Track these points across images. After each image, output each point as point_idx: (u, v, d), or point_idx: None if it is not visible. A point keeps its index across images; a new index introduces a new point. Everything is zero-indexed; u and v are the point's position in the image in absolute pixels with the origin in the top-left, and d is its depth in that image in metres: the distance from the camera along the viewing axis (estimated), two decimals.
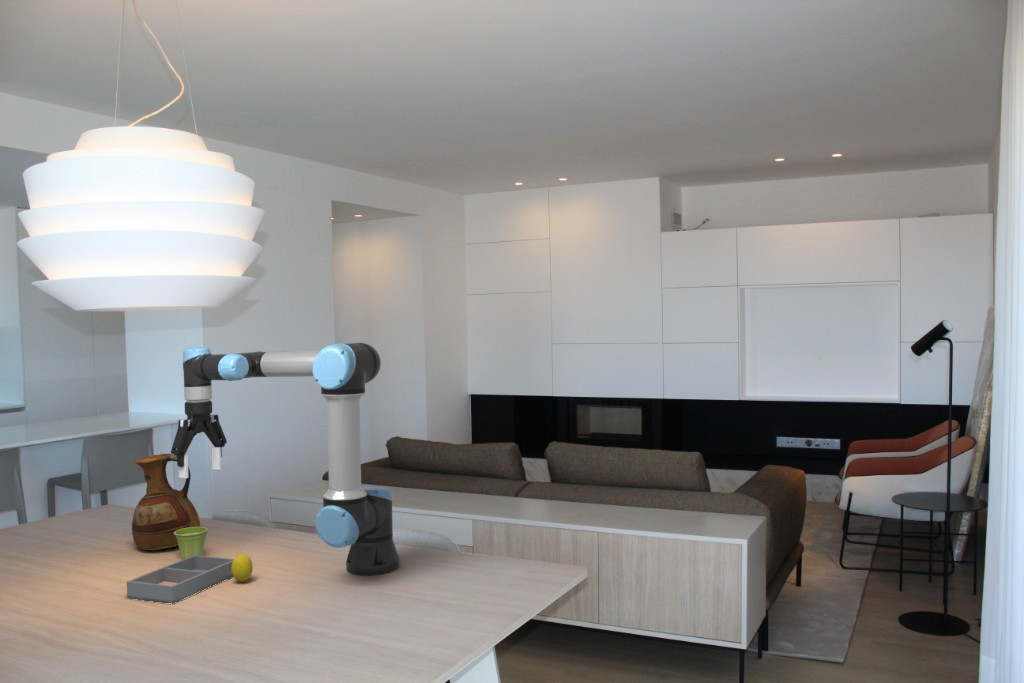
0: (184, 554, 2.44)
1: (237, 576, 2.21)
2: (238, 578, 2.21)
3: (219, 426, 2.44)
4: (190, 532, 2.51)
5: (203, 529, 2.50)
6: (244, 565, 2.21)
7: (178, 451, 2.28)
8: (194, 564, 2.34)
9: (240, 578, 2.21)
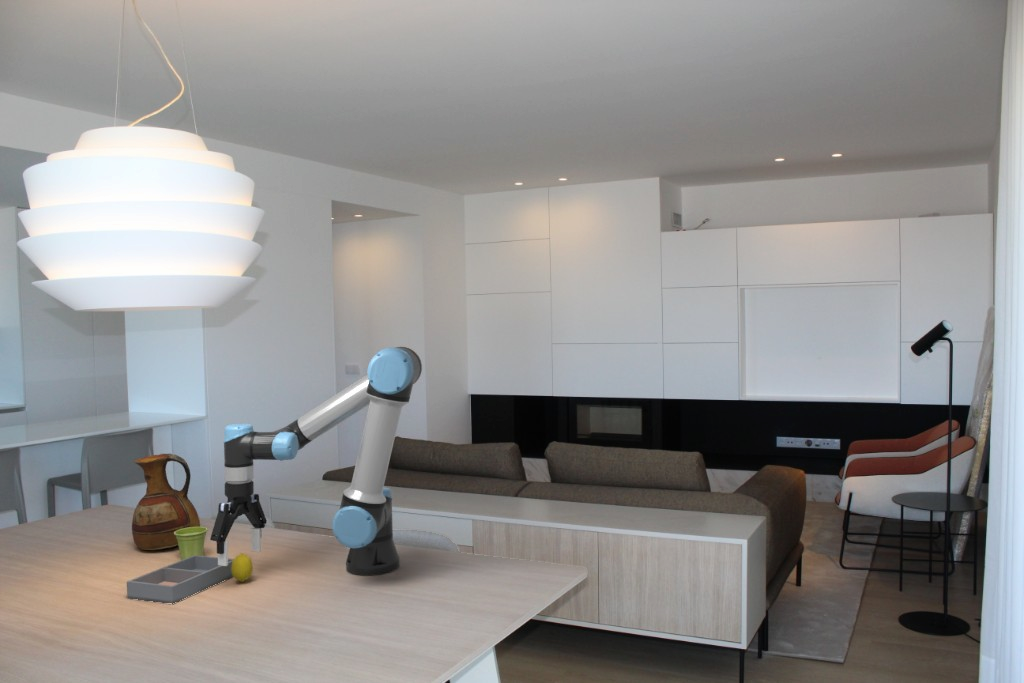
0: (184, 554, 2.44)
1: (237, 576, 2.21)
2: (238, 578, 2.21)
3: (259, 506, 2.29)
4: (190, 532, 2.51)
5: (203, 529, 2.50)
6: (244, 565, 2.21)
7: (218, 538, 2.14)
8: (194, 564, 2.34)
9: (241, 578, 2.21)
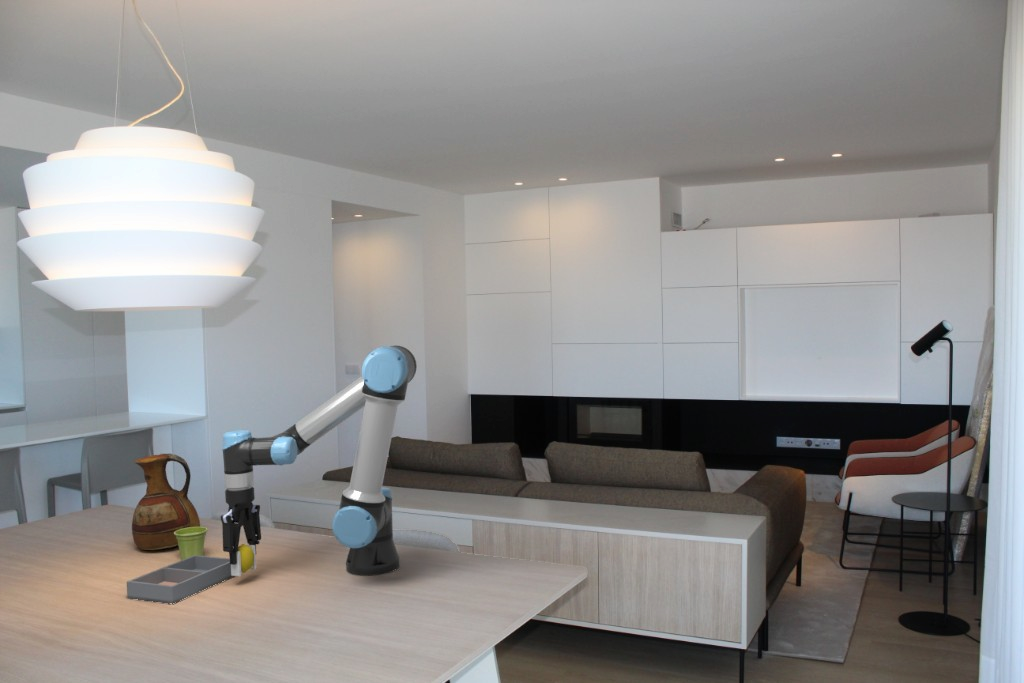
0: (184, 554, 2.44)
1: None
2: None
3: (258, 518, 2.28)
4: (190, 532, 2.51)
5: (203, 529, 2.50)
6: (246, 555, 2.21)
7: (231, 549, 2.17)
8: (194, 564, 2.34)
9: (242, 569, 2.21)
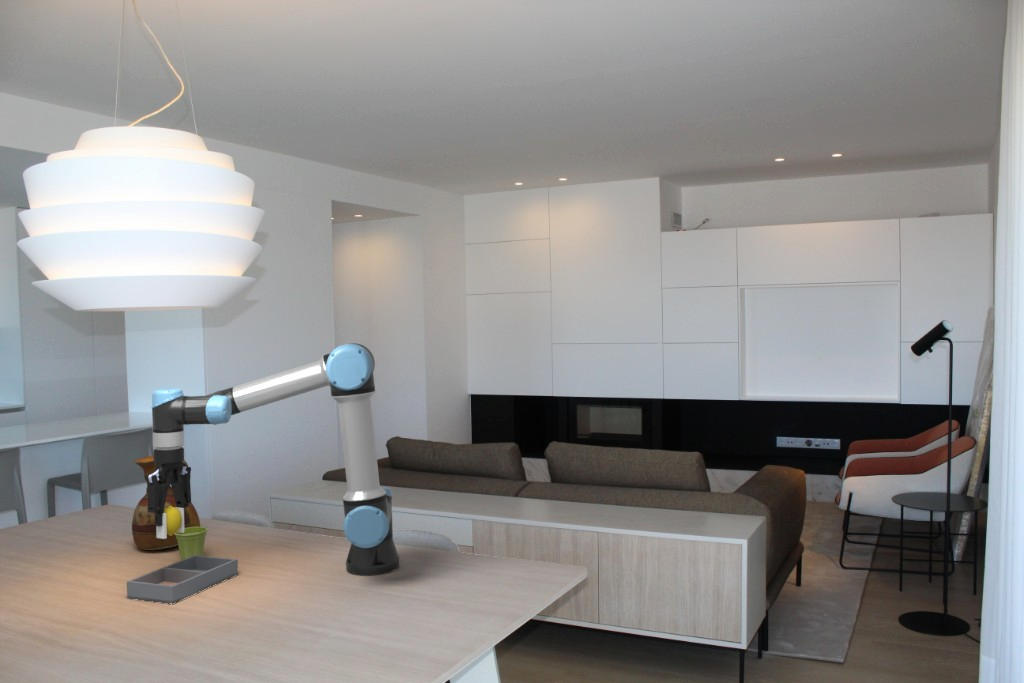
0: (184, 554, 2.44)
1: None
2: None
3: (188, 481, 2.20)
4: (190, 532, 2.51)
5: (203, 529, 2.50)
6: (172, 517, 2.13)
7: (155, 510, 2.09)
8: (194, 564, 2.34)
9: (168, 531, 2.14)
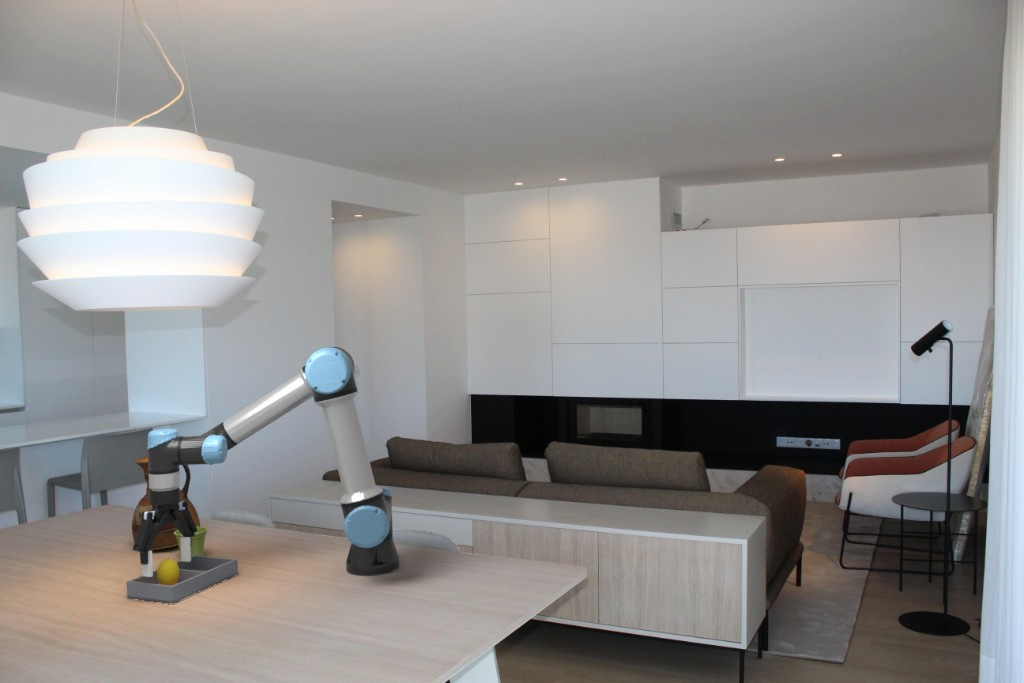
0: None
1: (162, 581, 2.13)
2: (164, 583, 2.14)
3: (188, 514, 2.21)
4: None
5: (203, 529, 2.50)
6: (170, 569, 2.14)
7: (141, 548, 2.05)
8: (194, 564, 2.34)
9: (166, 583, 2.14)
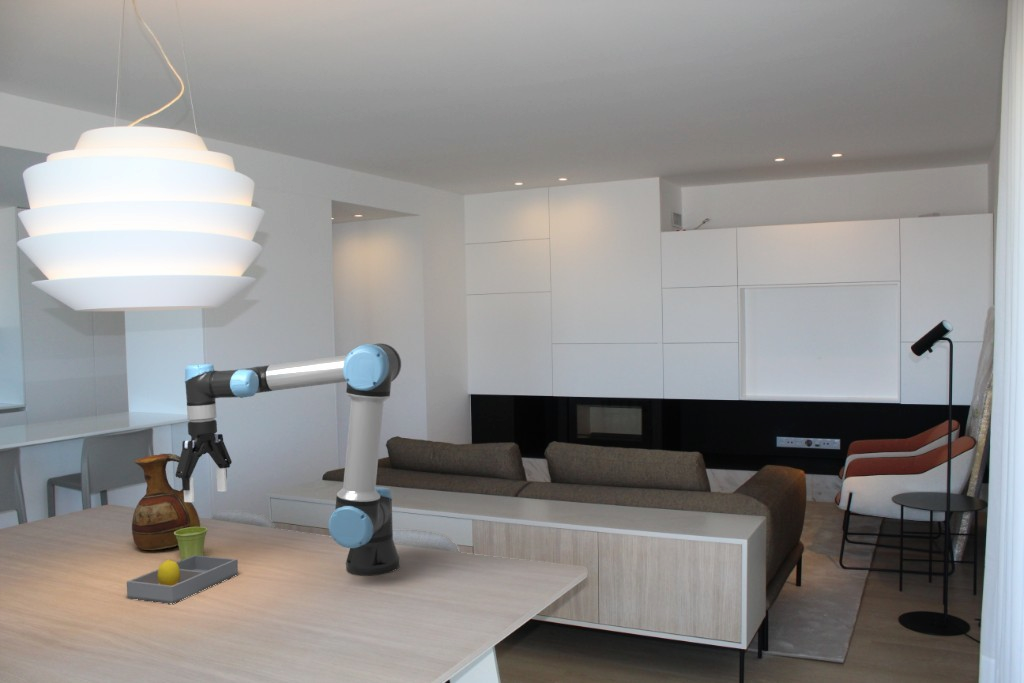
0: (184, 554, 2.44)
1: (162, 582, 2.13)
2: None
3: (224, 446, 2.32)
4: (190, 532, 2.51)
5: (203, 529, 2.50)
6: (171, 571, 2.13)
7: (183, 474, 2.16)
8: (194, 564, 2.34)
9: None
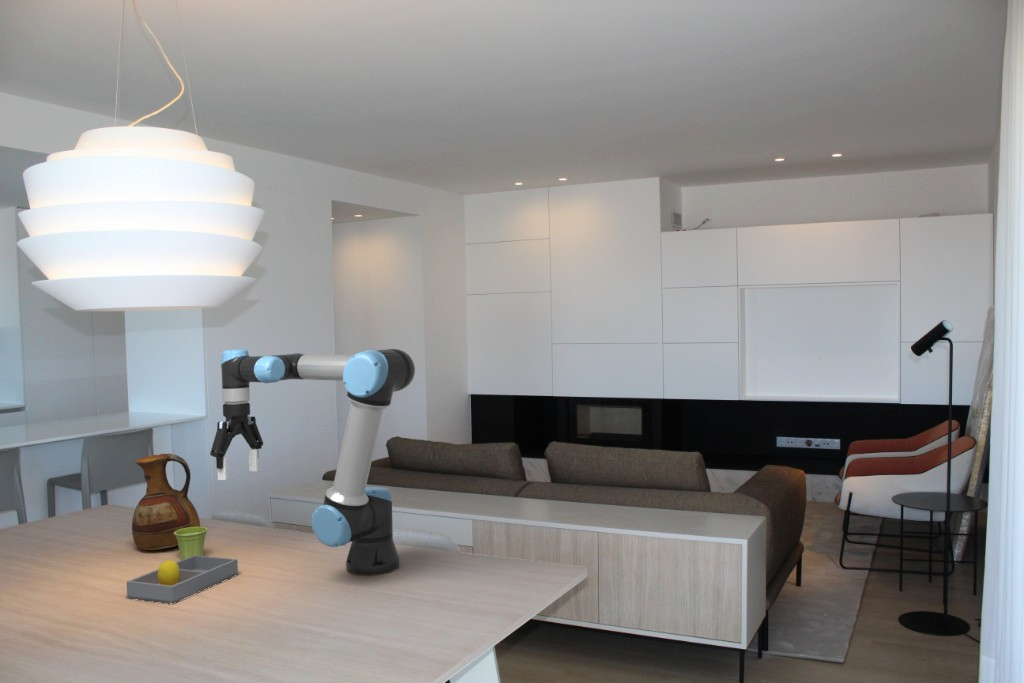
0: (184, 554, 2.44)
1: (162, 582, 2.13)
2: None
3: (256, 428, 2.43)
4: (190, 532, 2.51)
5: (203, 529, 2.50)
6: (170, 571, 2.13)
7: (218, 453, 2.28)
8: (194, 564, 2.34)
9: None
